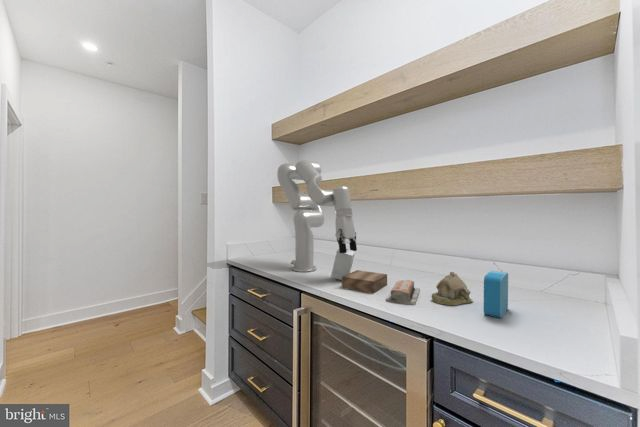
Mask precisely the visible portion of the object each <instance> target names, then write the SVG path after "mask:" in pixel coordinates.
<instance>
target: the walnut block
mask: <svg viewBox="0 0 640 427" xmlns="http://www.w3.org/2000/svg"><path fill="white" fill-rule="evenodd" d="M387 286H388V274H387V273H379V272H374V271H366V270H360V269H357V270H355V271H351V272H350V273H349V274H347V275H344V276H342V280H341V288H343V289H348V290H352V291H358V292H364V293H369V294H373V295H374V294H377V293H378V292H379V291H381V290H382V289H384V288H385V287H387Z"/></svg>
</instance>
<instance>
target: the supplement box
mask: <svg viewBox="0 0 640 427" xmlns="http://www.w3.org/2000/svg"><path fill="white" fill-rule="evenodd" d="M346 250H347V252H346V253H340V251H339V249H338V250H336V252H335V253H336V254H335V258H334V262H333V266H332V271H331V276H330V277H332V278H334V279H338V280H340V281H342V276H344V275H347V274H349V273H351V272H352V267H353V262H354V258H355V255H356V251H353V250H350V248H346Z"/></svg>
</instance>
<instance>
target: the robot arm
mask: <svg viewBox="0 0 640 427" xmlns="http://www.w3.org/2000/svg"><path fill="white" fill-rule="evenodd" d="M321 167H322V166H321V165H320V164H319V163H318V162H317V161H313V160H308V159H300V160H298V161H296V163H295V164H294V163H281V165H280V166H278V168H277V173H276V175H277V181H278V183H279V185H280V187H281V189H282V190H283V192H284V195H285V197H286V199H287V202H288V204H289V207H290V208H291V210H292V211H294V212H295V213H294V214H293V225H294V231H295V234H294V235H295V236H294V237H295V242H294V243H295V244H294V245H295V259H293V260H291V262H290V265H293V266H292V270H293V271H294V272H297V273H299V272H300V273H310V272H314V271H316V270H317V266H315V265H314V234H313V231H312V229H311V228H320V227H322V226H323V225H324V223H325V215H324V212H323V210H322V208H321V207H334V211H335V212H334V213H335V237H336V242H337V244H338V250H339V251H340V253H346V252H347V250H346V249H347V244H346V240H348V241H349V249H350V250H353V251H355V252H356V251H358V248H357V232H356V231H355V225H354V218H353V210H352V201H351V195H350V194H351V193H350V189H349V187H347V186H338V187H335V188H334V189H333V190H331V189H330V190H329V189H322V188H320V187H319V185H320V184H321V183H322V182H323V180H322V179H323V178H322V177H323V176H322V175H321V173H322V168H321ZM294 180H296V181H303V182H304V183H305V184H306V193H303V192H302V191H301V189H300V187H299V185H298V184H297V183H296V182H295V181H294Z"/></svg>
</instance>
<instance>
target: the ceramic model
mask: <svg viewBox="0 0 640 427" xmlns="http://www.w3.org/2000/svg"><path fill="white" fill-rule="evenodd" d="M467 286H468V285H467V284H466V283H465V282H464V281H463V279H461V278H460V276H458V274H457V273H456V272H453V271H450V272H449V274H447V275H445V276H444V277H443V278H442V279H440V281H439V282H438V283H437V285H436V287H435V288H436V289H437V292H433V293H431V300H432V302H434V303H437V304H440V305H447V306H458V305H462V304H470V303H472V302H474V300H473V299H472V298H470V294H471V291H470V289H469V288H468V287H467Z"/></svg>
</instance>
